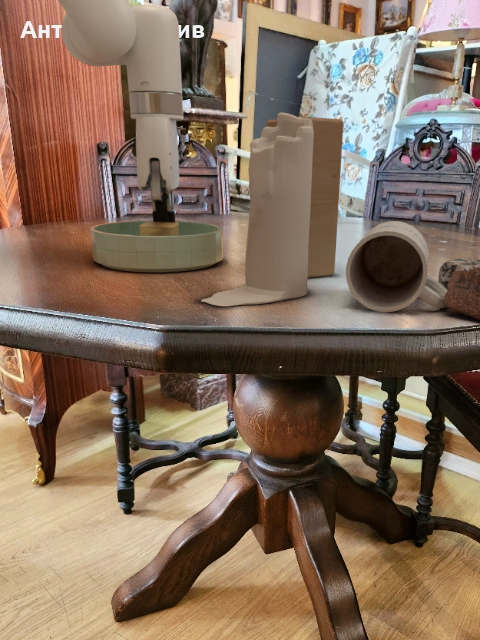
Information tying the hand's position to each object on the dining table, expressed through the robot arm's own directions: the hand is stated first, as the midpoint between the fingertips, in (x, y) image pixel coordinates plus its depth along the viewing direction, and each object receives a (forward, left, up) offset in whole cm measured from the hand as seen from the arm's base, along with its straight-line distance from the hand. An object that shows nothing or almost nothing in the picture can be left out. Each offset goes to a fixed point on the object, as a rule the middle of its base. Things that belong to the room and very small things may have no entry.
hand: (165, 237), depth 88 cm
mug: (+33, -22, 0) cm, 40 cm away
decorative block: (+21, -9, -3) cm, 23 cm away
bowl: (0, -4, -3) cm, 5 cm away
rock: (+47, -24, -2) cm, 52 cm away
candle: (+15, -26, -3) cm, 30 cm away
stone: (+39, -31, -2) cm, 50 cm away
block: (0, -5, -2) cm, 5 cm away
